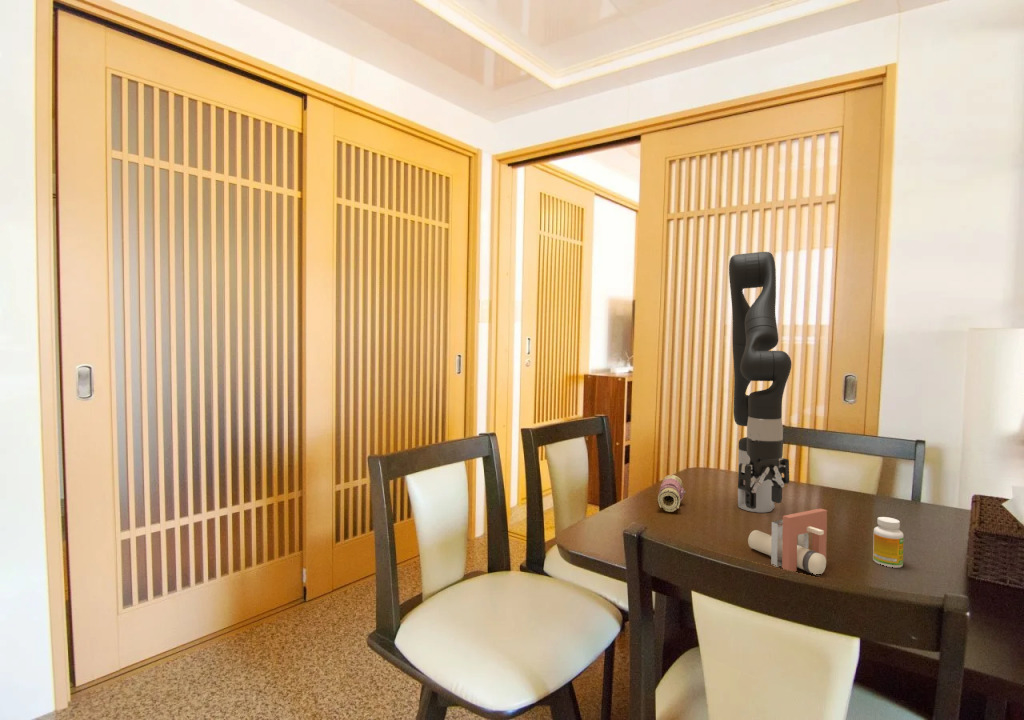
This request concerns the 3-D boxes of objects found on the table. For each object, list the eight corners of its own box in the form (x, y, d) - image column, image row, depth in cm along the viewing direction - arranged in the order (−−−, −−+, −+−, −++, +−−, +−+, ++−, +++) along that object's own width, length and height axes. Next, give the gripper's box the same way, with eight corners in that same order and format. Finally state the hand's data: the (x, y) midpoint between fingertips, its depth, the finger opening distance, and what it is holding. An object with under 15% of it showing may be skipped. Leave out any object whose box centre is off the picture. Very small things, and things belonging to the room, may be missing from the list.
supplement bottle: (904, 570, 112) (905, 525, 111) (873, 565, 114) (874, 520, 114) (901, 561, 116) (902, 518, 116) (872, 556, 119) (873, 514, 119)
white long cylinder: (750, 552, 123) (745, 535, 122) (763, 542, 125) (758, 526, 124) (814, 580, 109) (809, 561, 108) (828, 568, 110) (823, 549, 109)
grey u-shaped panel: (802, 556, 119) (802, 515, 118) (808, 559, 117) (808, 517, 117) (771, 564, 115) (771, 521, 114) (777, 567, 113) (777, 523, 113)
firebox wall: (819, 561, 116) (820, 508, 116) (839, 569, 112) (840, 514, 112) (782, 571, 111) (782, 515, 111) (801, 580, 107) (802, 522, 106)
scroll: (687, 511, 147) (691, 492, 166) (676, 486, 148) (681, 470, 167) (662, 519, 150) (668, 500, 168) (651, 494, 151) (658, 478, 169)
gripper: (771, 431, 128) (770, 496, 129) (729, 436, 122) (728, 505, 123) (799, 436, 121) (799, 505, 122) (756, 442, 115) (755, 514, 116)
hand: (763, 505), depth 122 cm, fingers open, 8 cm apart
